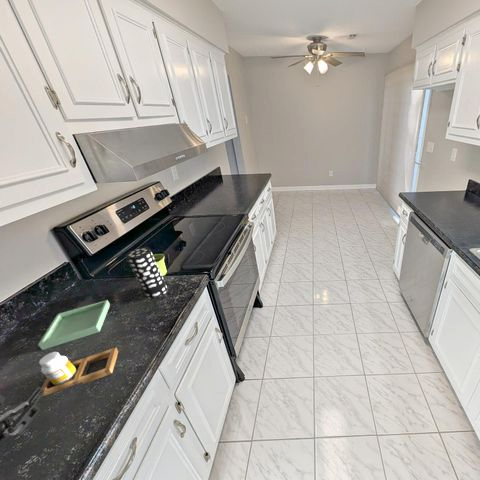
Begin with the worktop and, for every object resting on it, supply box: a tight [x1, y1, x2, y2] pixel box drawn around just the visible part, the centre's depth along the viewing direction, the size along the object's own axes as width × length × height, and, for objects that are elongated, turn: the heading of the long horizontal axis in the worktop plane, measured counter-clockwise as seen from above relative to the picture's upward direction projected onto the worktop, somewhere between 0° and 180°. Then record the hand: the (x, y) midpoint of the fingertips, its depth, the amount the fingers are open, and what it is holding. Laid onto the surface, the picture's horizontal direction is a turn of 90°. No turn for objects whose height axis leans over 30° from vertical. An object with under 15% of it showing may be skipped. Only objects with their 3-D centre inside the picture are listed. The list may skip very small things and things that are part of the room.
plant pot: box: [153, 253, 168, 277], centre depth 119 cm, size 9×9×9 cm
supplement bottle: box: [38, 351, 78, 386], centre depth 72 cm, size 5×5×10 cm
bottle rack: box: [41, 347, 119, 398], centre depth 75 cm, size 16×9×2 cm, turn 115°
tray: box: [37, 299, 111, 351], centre depth 94 cm, size 16×16×3 cm
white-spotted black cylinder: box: [125, 246, 169, 300], centre depth 104 cm, size 8×8×20 cm
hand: (20, 392), depth 62 cm, fingers open, 8 cm apart
